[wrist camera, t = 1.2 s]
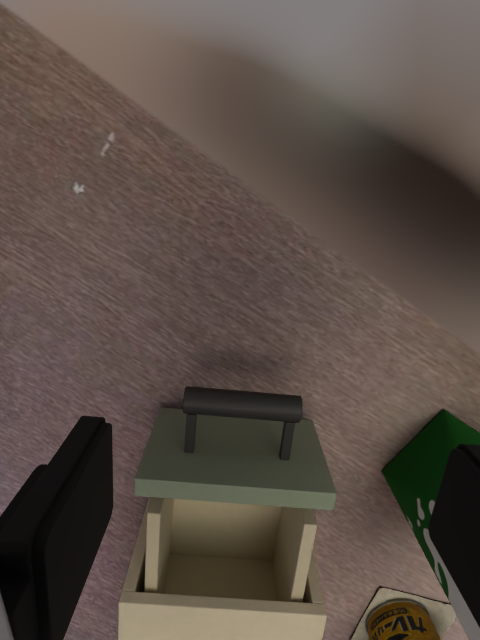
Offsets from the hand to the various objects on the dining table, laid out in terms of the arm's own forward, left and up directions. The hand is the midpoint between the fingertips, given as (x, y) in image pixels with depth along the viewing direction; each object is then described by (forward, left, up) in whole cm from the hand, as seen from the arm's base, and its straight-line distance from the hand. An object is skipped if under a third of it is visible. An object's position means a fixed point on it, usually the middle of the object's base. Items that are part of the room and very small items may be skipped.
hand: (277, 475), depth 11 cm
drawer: (+13, 0, -17) cm, 21 cm away
